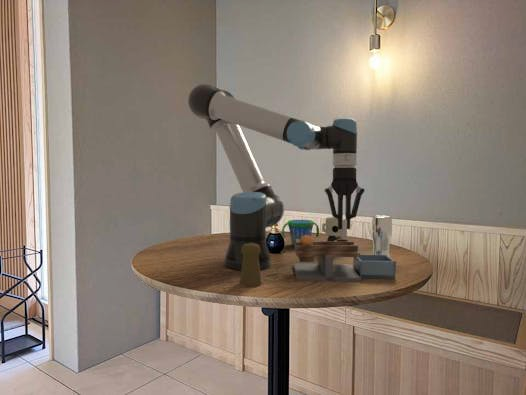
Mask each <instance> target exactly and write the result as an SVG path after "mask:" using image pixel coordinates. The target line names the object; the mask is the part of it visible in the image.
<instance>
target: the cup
mask: <svg viewBox="0 0 526 395" xmlns="http://www.w3.org/2000/svg"><path fill="white" fill-rule="evenodd" d="M389 256H390V255H389ZM389 256H387V255H372V254H361V253H360V257H353V263H352V265H353V267H352V268H353V269H354V270H355V271H356V273H357V274H358V275H359V276H360V277H361V279H384V280H385V279H386V280H387V279H389V280H390V279H391V280H393V279H394V280H395V279H396V271H397V270H396V269H397V268H396V265H397V263H396V260H394V259H393V258H391V257H389Z"/></svg>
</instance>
